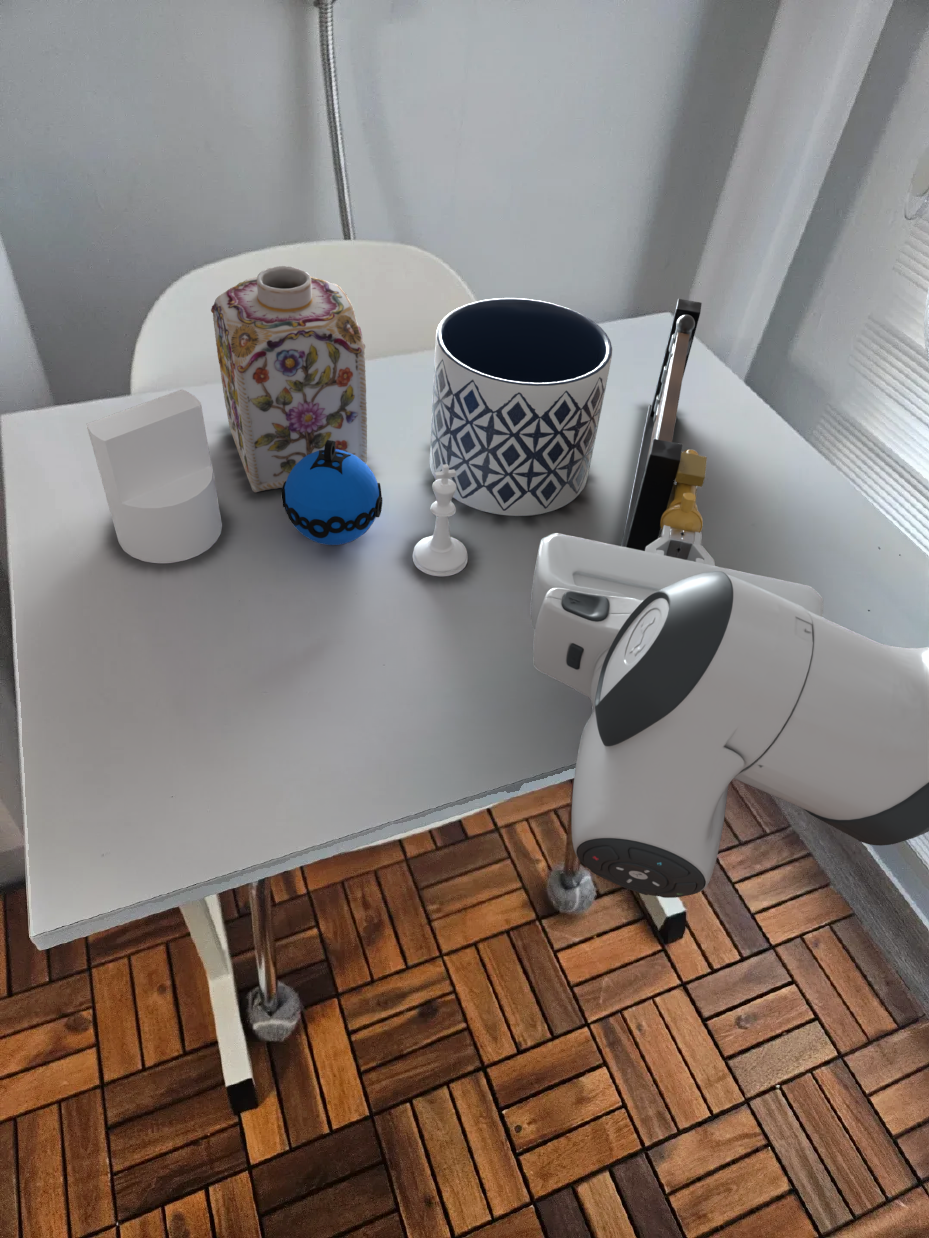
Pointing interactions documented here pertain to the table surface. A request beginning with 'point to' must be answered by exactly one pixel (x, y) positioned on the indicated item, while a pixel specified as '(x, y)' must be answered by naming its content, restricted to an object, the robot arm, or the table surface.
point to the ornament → (331, 496)
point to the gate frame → (660, 463)
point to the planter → (517, 403)
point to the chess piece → (441, 533)
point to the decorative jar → (290, 371)
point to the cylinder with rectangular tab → (159, 478)
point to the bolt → (683, 508)
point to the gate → (672, 381)
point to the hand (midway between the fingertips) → (680, 535)
